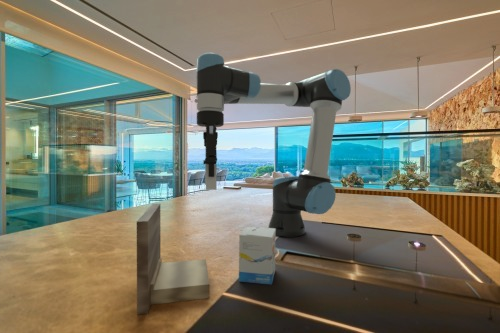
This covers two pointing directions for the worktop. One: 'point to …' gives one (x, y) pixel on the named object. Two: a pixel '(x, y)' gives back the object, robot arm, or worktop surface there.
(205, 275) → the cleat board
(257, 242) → the ink box
